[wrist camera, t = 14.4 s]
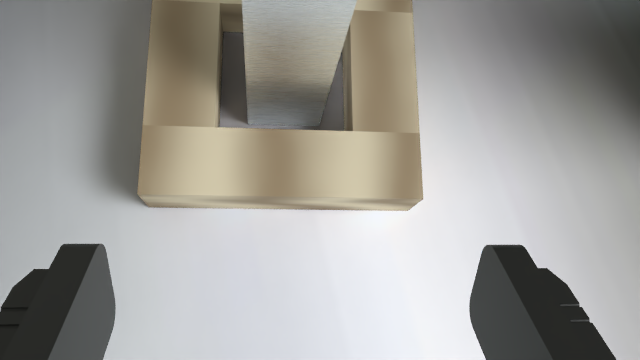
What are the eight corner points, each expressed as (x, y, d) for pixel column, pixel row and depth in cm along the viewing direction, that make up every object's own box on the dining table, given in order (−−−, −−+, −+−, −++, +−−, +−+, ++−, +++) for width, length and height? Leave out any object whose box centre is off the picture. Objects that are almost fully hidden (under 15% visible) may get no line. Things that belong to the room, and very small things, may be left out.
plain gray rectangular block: (318, 61, 33) (360, -124, 19) (318, 125, 32) (363, -22, 18) (249, 58, 32) (243, -132, 19) (248, 124, 31) (240, -29, 18)
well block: (397, -12, 35) (409, -43, 32) (407, 210, 31) (423, 198, 28) (165, -25, 33) (156, -58, 30) (149, 207, 30) (137, 194, 27)
